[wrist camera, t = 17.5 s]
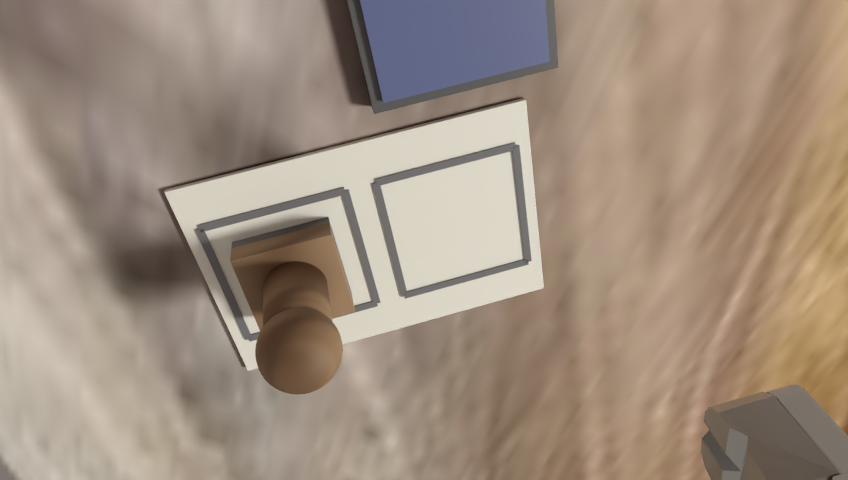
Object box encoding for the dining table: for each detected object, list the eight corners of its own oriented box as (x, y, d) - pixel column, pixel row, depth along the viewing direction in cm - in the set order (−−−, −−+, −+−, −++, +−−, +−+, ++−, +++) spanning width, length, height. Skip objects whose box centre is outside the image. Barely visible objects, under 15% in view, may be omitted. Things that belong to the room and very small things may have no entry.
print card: (523, 97, 32) (526, 100, 31) (541, 285, 38) (544, 289, 38) (165, 189, 30) (163, 193, 30) (248, 367, 37) (248, 372, 36)
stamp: (328, 216, 32) (344, 319, 25) (351, 292, 35) (372, 404, 28) (231, 241, 32) (221, 353, 25) (262, 316, 35) (261, 435, 28)
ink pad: (539, -98, 27) (550, -96, 26) (550, 61, 31) (560, 69, 30) (333, -51, 26) (336, -46, 25) (371, 106, 30) (375, 116, 29)
